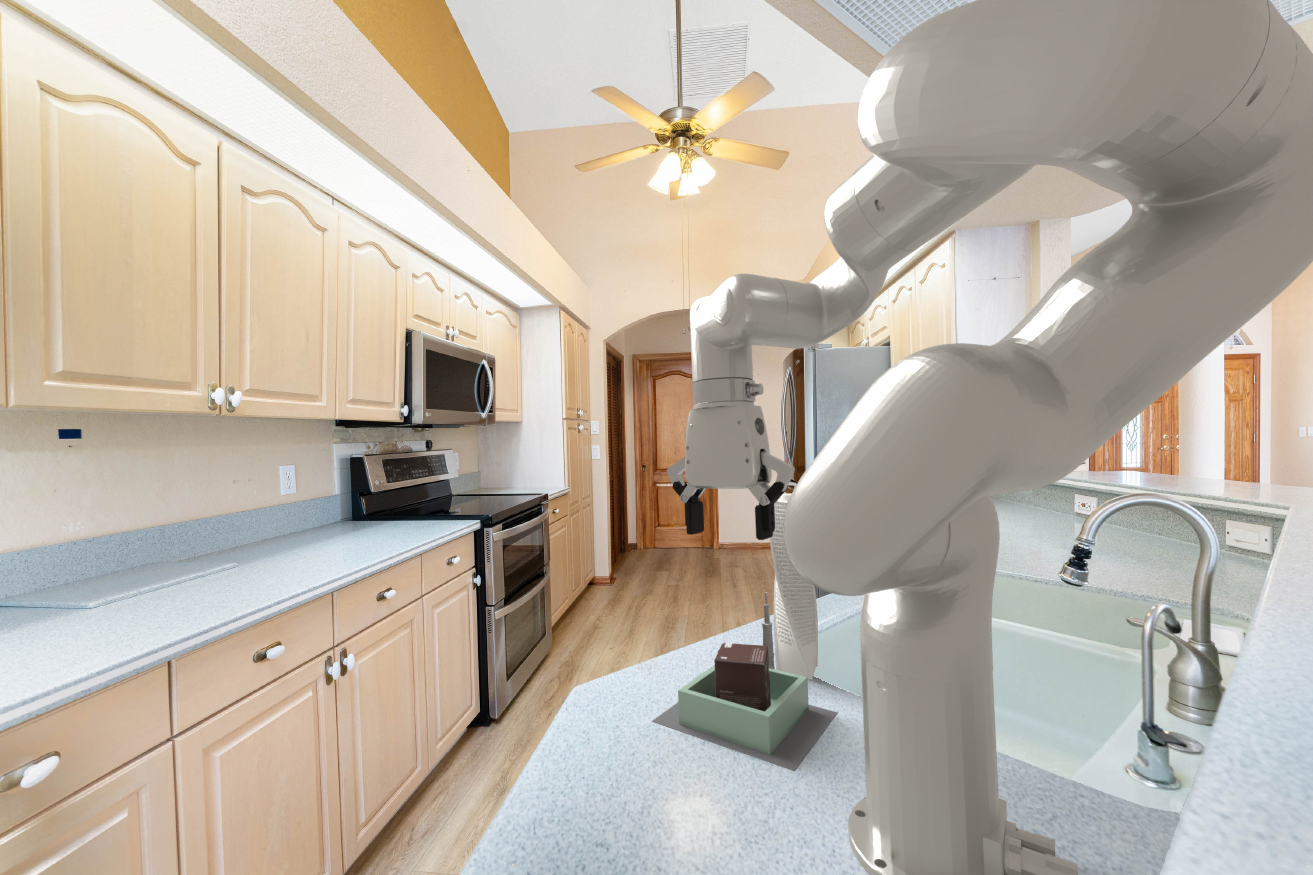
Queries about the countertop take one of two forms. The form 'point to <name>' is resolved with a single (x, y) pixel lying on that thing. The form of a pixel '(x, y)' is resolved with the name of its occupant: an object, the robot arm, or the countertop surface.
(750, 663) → the box
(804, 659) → the skyscraper
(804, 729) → the mat
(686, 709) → the crate
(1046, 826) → the countertop surface
